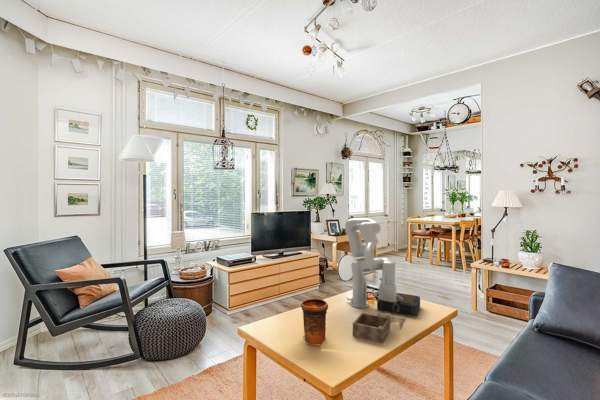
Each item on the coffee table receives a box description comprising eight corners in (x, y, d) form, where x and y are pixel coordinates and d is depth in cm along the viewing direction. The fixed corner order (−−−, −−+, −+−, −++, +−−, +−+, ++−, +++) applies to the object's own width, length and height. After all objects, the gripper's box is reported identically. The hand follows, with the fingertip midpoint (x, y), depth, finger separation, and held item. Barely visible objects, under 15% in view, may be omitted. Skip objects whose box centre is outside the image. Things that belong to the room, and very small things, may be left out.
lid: (369, 325, 181) (370, 317, 180) (377, 315, 195) (377, 307, 195) (399, 332, 172) (399, 323, 172) (405, 320, 187) (405, 312, 187)
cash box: (376, 310, 202) (376, 299, 202) (383, 301, 220) (383, 290, 220) (416, 318, 190) (416, 305, 190) (420, 307, 208) (420, 295, 208)
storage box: (352, 337, 164) (352, 323, 164) (362, 326, 178) (362, 312, 178) (382, 345, 156) (382, 329, 156) (389, 332, 170) (390, 318, 170)
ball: (377, 332, 168) (377, 326, 168) (378, 330, 171) (378, 324, 171) (383, 333, 167) (383, 328, 167) (384, 331, 169) (384, 325, 169)
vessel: (298, 345, 155) (299, 306, 155) (302, 333, 170) (302, 297, 170) (327, 348, 153) (327, 308, 153) (328, 335, 168) (328, 299, 168)
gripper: (372, 280, 184) (371, 308, 185) (401, 285, 176) (400, 314, 177) (375, 277, 191) (374, 303, 192) (404, 282, 182) (403, 310, 183)
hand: (387, 309), depth 184 cm, fingers open, 9 cm apart
